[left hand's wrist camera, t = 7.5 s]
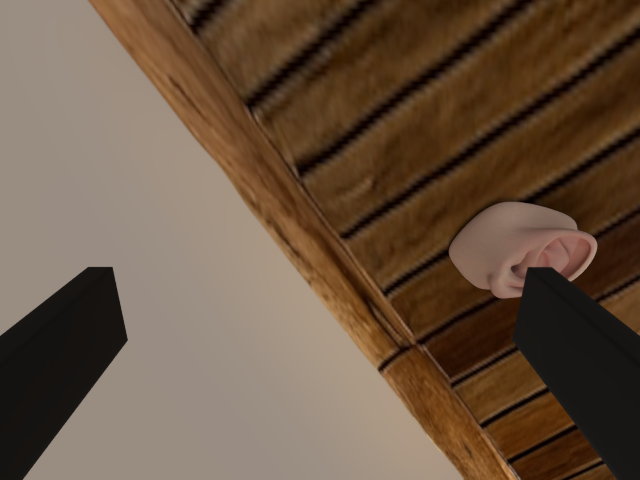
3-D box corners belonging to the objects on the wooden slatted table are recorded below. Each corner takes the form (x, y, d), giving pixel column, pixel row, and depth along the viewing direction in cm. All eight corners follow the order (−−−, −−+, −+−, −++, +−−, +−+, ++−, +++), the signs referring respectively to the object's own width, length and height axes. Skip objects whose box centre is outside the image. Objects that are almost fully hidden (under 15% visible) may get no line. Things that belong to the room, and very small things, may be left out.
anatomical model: (445, 285, 42) (504, 188, 38) (435, 269, 46) (487, 179, 42) (549, 327, 44) (615, 238, 40) (532, 308, 48) (590, 225, 44)
